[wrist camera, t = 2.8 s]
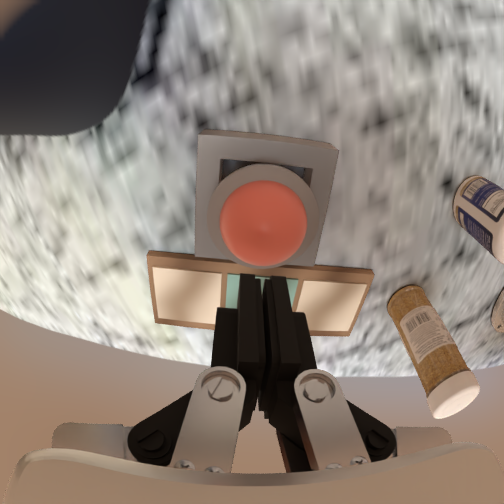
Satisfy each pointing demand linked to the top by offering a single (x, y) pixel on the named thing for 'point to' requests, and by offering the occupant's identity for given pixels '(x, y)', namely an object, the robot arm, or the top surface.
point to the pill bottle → (482, 213)
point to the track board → (227, 284)
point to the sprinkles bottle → (432, 353)
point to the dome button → (262, 216)
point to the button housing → (267, 151)
